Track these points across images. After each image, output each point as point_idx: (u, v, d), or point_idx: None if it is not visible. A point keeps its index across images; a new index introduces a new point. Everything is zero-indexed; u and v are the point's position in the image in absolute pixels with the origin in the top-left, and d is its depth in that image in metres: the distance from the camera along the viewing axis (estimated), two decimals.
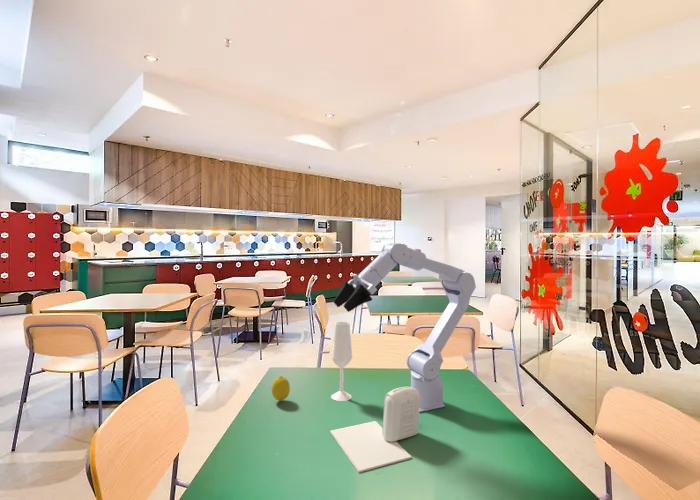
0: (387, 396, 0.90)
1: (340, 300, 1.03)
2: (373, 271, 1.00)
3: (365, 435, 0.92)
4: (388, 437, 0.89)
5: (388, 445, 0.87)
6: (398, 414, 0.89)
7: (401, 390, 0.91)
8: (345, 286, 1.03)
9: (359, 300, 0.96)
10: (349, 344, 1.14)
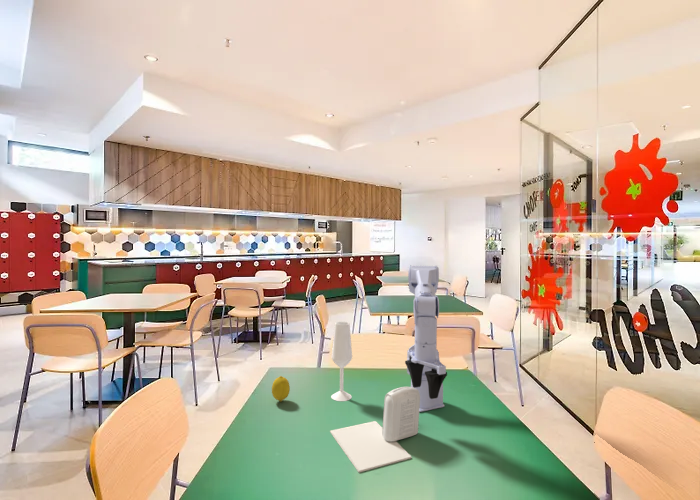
0: (387, 396, 0.90)
1: (417, 380, 0.98)
2: (425, 346, 0.92)
3: (365, 435, 0.92)
4: (388, 437, 0.89)
5: (388, 445, 0.87)
6: (398, 414, 0.89)
7: (401, 390, 0.91)
8: (411, 367, 0.97)
9: (437, 381, 0.91)
10: (349, 344, 1.14)
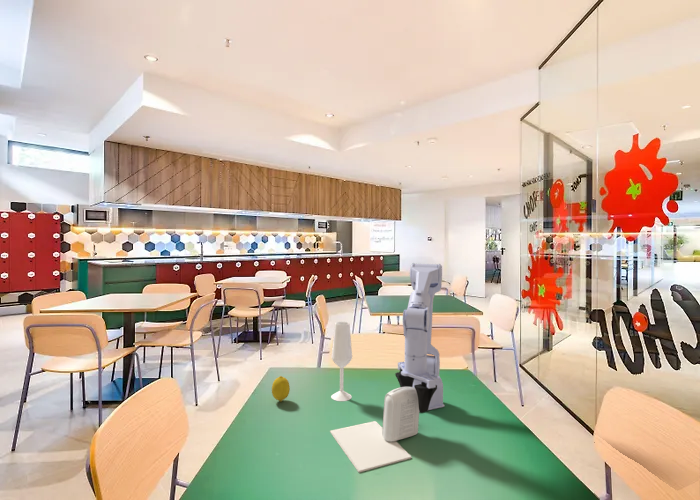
0: (387, 396, 0.90)
1: None
2: (415, 359, 0.91)
3: (365, 435, 0.92)
4: (388, 437, 0.89)
5: (388, 445, 0.87)
6: (398, 414, 0.89)
7: (401, 390, 0.91)
8: (401, 380, 0.96)
9: (427, 395, 0.90)
10: (349, 344, 1.14)
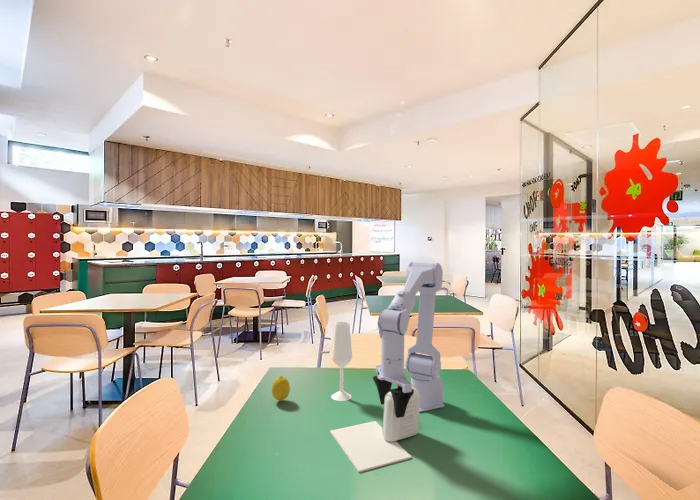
0: (387, 396, 0.90)
1: None
2: (392, 362, 0.88)
3: (365, 435, 0.92)
4: (388, 437, 0.89)
5: (388, 445, 0.87)
6: None
7: None
8: (378, 383, 0.94)
9: (404, 399, 0.87)
10: (349, 344, 1.14)
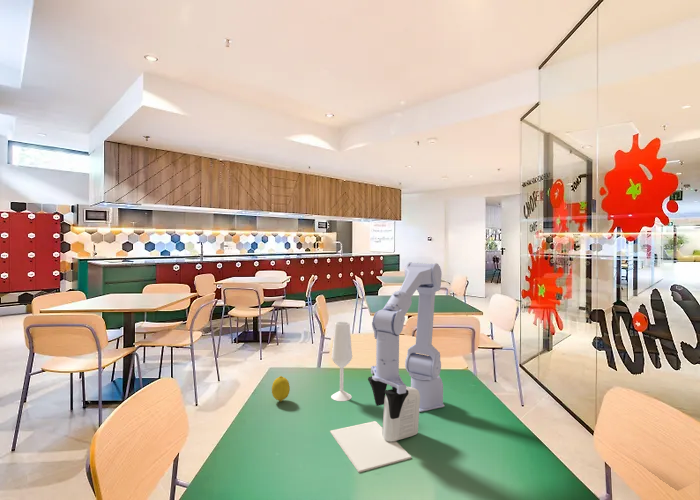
0: None
1: (380, 398, 0.94)
2: (386, 363, 0.87)
3: (365, 435, 0.92)
4: (388, 437, 0.89)
5: (388, 445, 0.87)
6: None
7: None
8: (373, 384, 0.93)
9: (398, 400, 0.87)
10: (349, 344, 1.14)
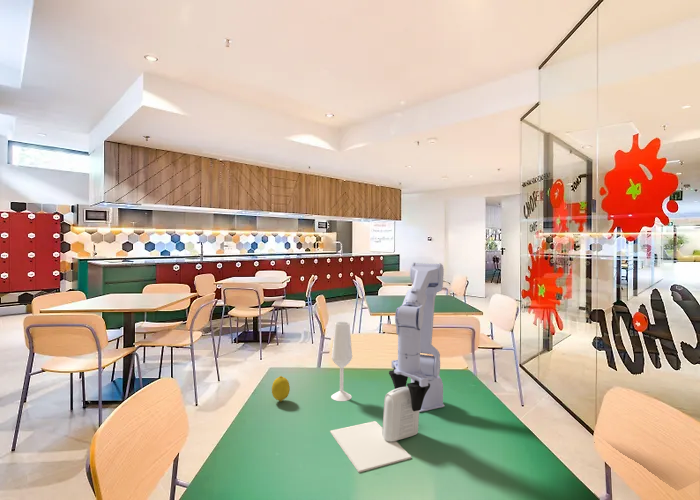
0: (387, 396, 0.90)
1: None
2: (408, 357, 0.90)
3: (365, 435, 0.92)
4: (388, 437, 0.89)
5: (388, 445, 0.87)
6: (398, 414, 0.89)
7: (401, 390, 0.91)
8: (394, 378, 0.96)
9: (420, 393, 0.89)
10: (349, 344, 1.14)
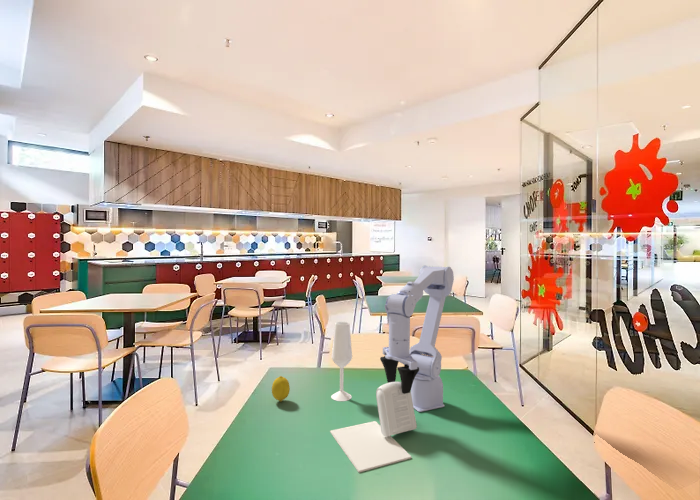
0: (377, 391, 0.94)
1: (392, 376, 1.01)
2: (399, 342, 0.95)
3: (365, 435, 0.92)
4: (387, 432, 0.89)
5: (388, 445, 0.87)
6: (391, 405, 0.91)
7: (390, 383, 0.95)
8: (385, 363, 1.01)
9: (410, 377, 0.94)
10: (349, 344, 1.14)
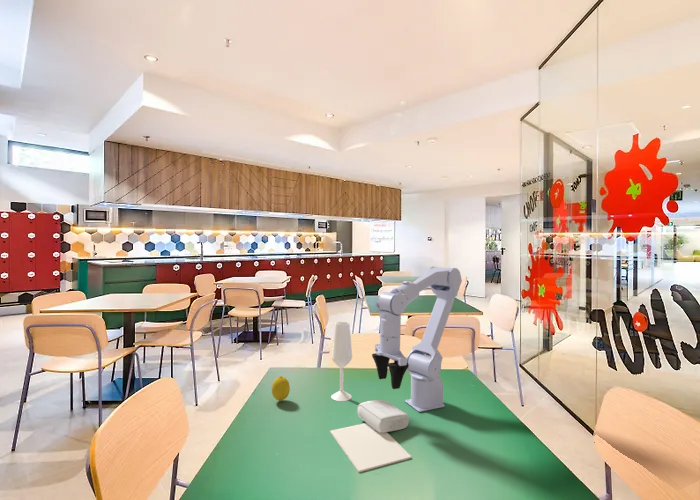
0: (358, 411, 1.01)
1: (383, 372, 1.04)
2: (389, 339, 0.98)
3: (365, 435, 0.92)
4: (378, 420, 0.92)
5: (388, 445, 0.87)
6: (371, 407, 0.98)
7: None
8: (377, 360, 1.03)
9: (399, 373, 0.97)
10: (349, 344, 1.14)
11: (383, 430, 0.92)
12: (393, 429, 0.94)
